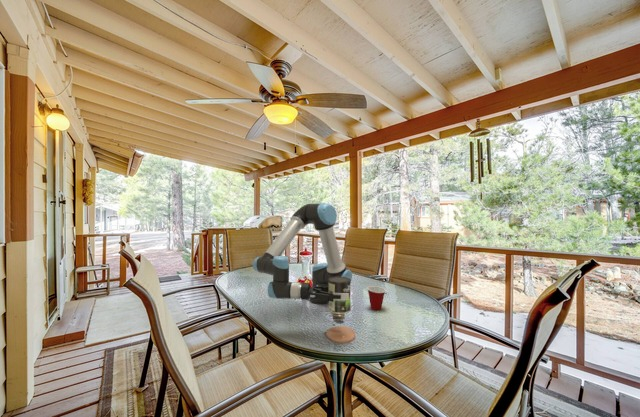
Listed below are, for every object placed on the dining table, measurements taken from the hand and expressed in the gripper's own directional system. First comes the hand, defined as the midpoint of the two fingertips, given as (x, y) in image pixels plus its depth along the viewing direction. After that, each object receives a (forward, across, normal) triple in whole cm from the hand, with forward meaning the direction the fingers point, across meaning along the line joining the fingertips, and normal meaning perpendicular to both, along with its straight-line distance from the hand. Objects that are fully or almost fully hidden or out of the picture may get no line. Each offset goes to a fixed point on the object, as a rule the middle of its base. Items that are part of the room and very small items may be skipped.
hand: (348, 292), depth 119 cm
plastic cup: (+15, -35, -20) cm, 43 cm away
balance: (-6, -22, -20) cm, 30 cm away
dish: (-4, 0, -20) cm, 20 cm away
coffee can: (-4, 0, -8) cm, 9 cm away
